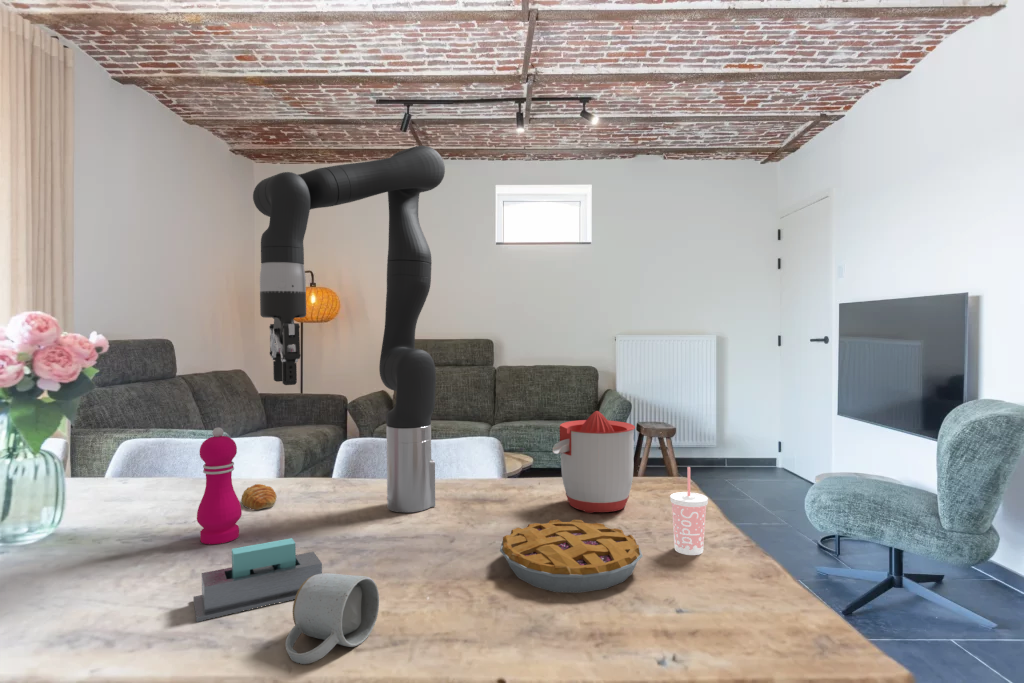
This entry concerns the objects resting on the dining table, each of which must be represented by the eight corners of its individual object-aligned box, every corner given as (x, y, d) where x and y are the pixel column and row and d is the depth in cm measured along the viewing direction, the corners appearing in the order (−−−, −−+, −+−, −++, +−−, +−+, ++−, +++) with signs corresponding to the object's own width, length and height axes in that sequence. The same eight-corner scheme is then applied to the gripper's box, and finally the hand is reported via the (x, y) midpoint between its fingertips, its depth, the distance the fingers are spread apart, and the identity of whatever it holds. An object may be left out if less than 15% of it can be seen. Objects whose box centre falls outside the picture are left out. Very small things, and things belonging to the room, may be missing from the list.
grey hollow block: (319, 574, 92) (318, 548, 92) (330, 591, 86) (330, 563, 86) (193, 601, 83) (192, 572, 83) (196, 622, 77) (196, 591, 77)
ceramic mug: (328, 616, 78) (326, 558, 78) (381, 627, 75) (380, 567, 75) (267, 660, 68) (265, 594, 68) (326, 675, 65) (324, 606, 65)
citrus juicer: (542, 499, 131) (541, 408, 130) (614, 492, 136) (614, 404, 135) (568, 521, 116) (568, 418, 115) (649, 513, 121) (649, 414, 120)
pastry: (283, 508, 126) (282, 490, 126) (249, 514, 122) (248, 496, 122) (271, 497, 134) (270, 481, 134) (238, 503, 130) (238, 486, 130)
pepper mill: (224, 547, 103) (222, 431, 103) (187, 544, 105) (185, 430, 104) (250, 533, 110) (248, 424, 110) (216, 530, 112) (214, 423, 111)
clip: (292, 582, 87) (292, 538, 87) (296, 588, 85) (295, 543, 85) (232, 595, 83) (231, 548, 83) (234, 601, 81) (233, 554, 81)
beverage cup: (664, 551, 100) (664, 468, 100) (678, 540, 105) (678, 461, 105) (700, 559, 97) (700, 473, 96) (713, 548, 101) (713, 466, 101)
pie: (544, 611, 80) (544, 574, 80) (478, 556, 99) (478, 526, 99) (671, 579, 90) (671, 546, 89) (588, 535, 109) (588, 507, 109)
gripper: (314, 288, 101) (316, 385, 101) (297, 293, 113) (298, 379, 113) (267, 287, 97) (268, 387, 97) (254, 292, 109) (255, 381, 109)
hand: (284, 382), depth 105 cm, fingers open, 8 cm apart
